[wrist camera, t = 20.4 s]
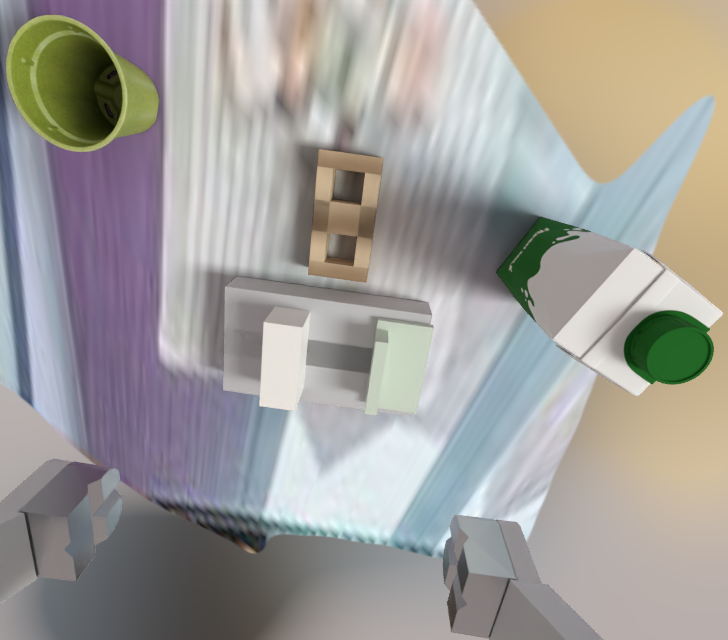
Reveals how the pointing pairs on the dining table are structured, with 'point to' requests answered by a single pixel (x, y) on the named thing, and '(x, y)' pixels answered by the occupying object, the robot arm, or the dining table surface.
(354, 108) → the dining table surface
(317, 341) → the socket
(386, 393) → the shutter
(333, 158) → the holder
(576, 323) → the milk carton
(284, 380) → the plug
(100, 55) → the plant pot
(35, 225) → the dining table surface
